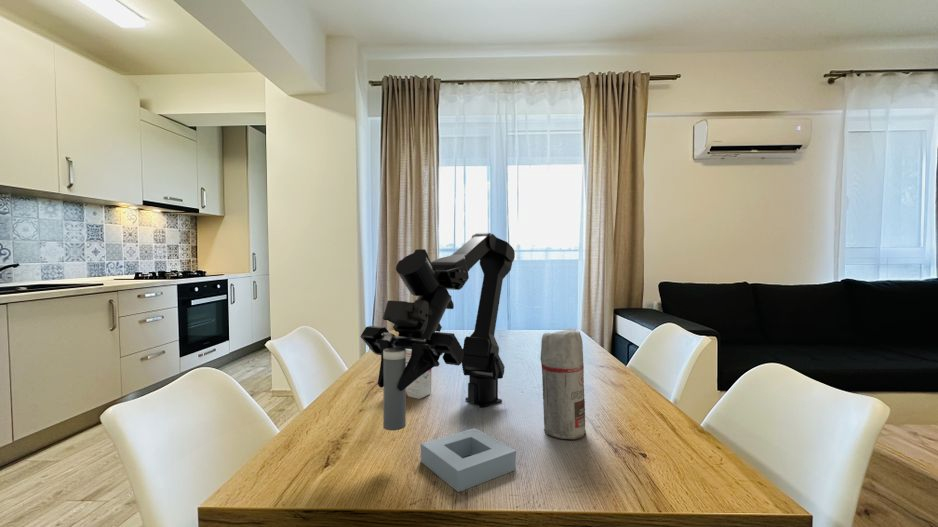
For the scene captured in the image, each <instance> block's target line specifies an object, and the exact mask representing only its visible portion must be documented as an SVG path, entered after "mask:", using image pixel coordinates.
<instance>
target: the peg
mask: <svg viewBox="0 0 938 527" xmlns="http://www.w3.org/2000/svg"><path fill="white" fill-rule="evenodd" d="M383 358H384V371H383V387H382V388H383V389H382V390H383V393H382V394H383V403H382V404H383V410H382V411H383V414H382V416H383V418H382V419H383V422H382V424H383V425H382V427H383V429H384V430H386V431H398V430H402V429H404V428H405V427H406V421H407V420H406V418H407V417H406V415H407V414H406V412H407V411H406V410H407V409H406V405H407V404H406V402H407V401H406V399H407V398H406V397H407V396H406V388H405V389H404V390H403V391H399V390H398V389H397V386H398V383H399V381H400V378H401V376H402V374H403V372H404V370H405V368H406V349H404V348H387V349H384V350H383Z"/></svg>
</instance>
